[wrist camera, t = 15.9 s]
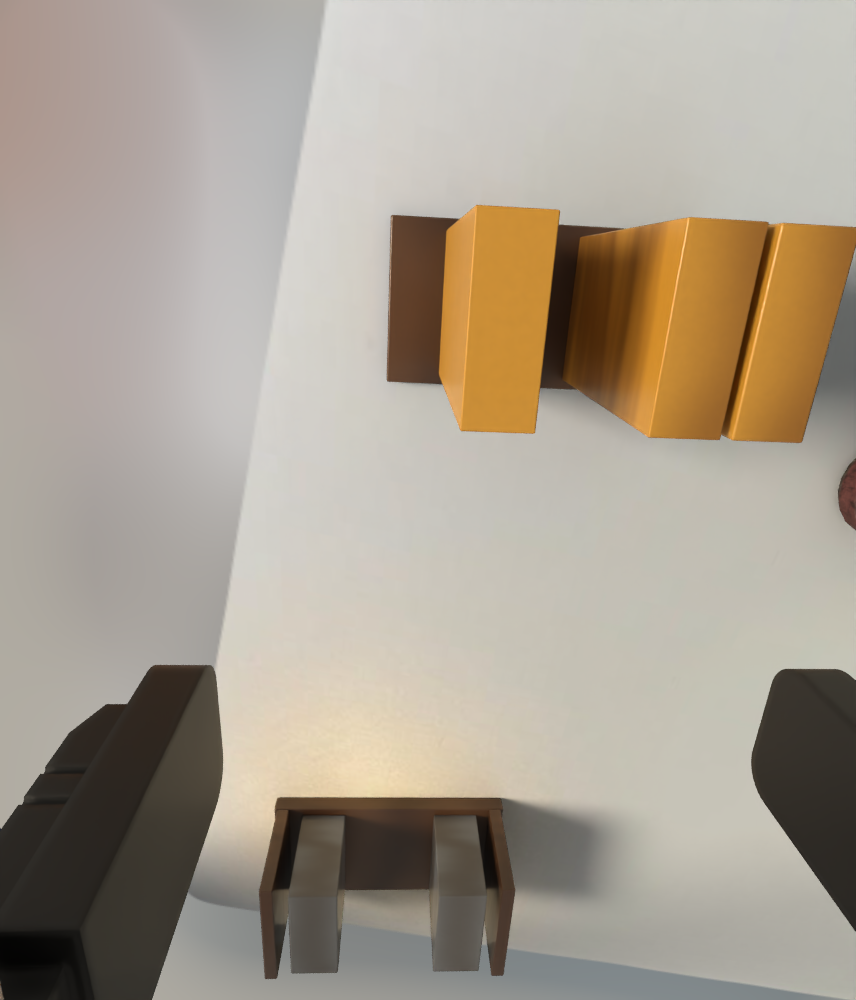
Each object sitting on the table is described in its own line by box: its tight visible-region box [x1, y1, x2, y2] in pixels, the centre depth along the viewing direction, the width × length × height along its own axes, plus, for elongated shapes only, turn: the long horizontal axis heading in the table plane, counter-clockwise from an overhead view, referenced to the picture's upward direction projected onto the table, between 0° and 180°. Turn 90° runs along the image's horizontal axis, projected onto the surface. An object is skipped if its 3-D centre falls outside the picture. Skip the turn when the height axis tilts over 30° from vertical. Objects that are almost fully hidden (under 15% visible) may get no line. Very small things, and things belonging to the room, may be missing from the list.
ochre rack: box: [387, 215, 856, 443], centre depth 26 cm, size 16×8×13 cm, turn 87°
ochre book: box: [439, 205, 560, 434], centre depth 25 cm, size 3×7×12 cm, turn 177°
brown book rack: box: [259, 798, 515, 979], centre depth 42 cm, size 16×8×7 cm, turn 87°
